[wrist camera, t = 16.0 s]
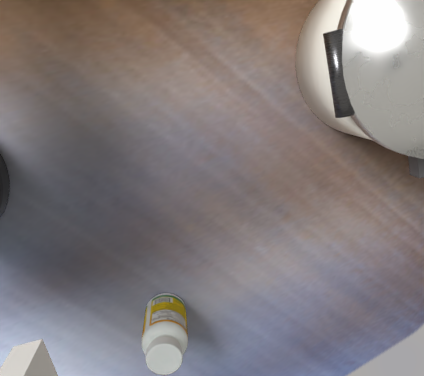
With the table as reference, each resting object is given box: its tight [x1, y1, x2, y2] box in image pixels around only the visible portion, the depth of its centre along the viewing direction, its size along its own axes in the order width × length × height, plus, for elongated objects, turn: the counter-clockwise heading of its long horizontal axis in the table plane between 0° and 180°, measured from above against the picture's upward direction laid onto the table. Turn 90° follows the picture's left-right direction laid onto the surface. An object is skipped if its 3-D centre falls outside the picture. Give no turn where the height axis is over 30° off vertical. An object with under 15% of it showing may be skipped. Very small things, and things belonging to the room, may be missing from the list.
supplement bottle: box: [142, 293, 188, 375], centre depth 47 cm, size 5×5×10 cm
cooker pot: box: [295, 0, 424, 178], centre depth 40 cm, size 18×24×12 cm
